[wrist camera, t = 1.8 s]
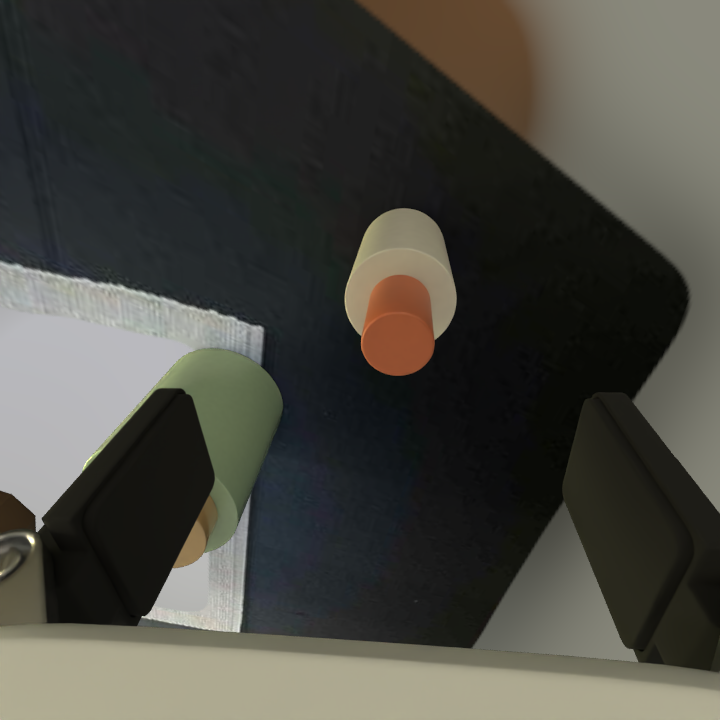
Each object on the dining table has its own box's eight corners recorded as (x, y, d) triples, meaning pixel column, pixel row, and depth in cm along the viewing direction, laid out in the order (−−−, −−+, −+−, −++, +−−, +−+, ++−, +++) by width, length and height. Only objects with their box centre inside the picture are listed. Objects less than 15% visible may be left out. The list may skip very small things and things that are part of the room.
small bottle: (359, 209, 22) (324, 282, 13) (446, 206, 22) (472, 280, 13) (363, 290, 24) (335, 399, 15) (442, 289, 24) (461, 402, 15)
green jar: (153, 347, 28) (30, 464, 19) (273, 348, 27) (205, 471, 18) (184, 442, 32) (96, 575, 23) (290, 446, 31) (241, 585, 22)
